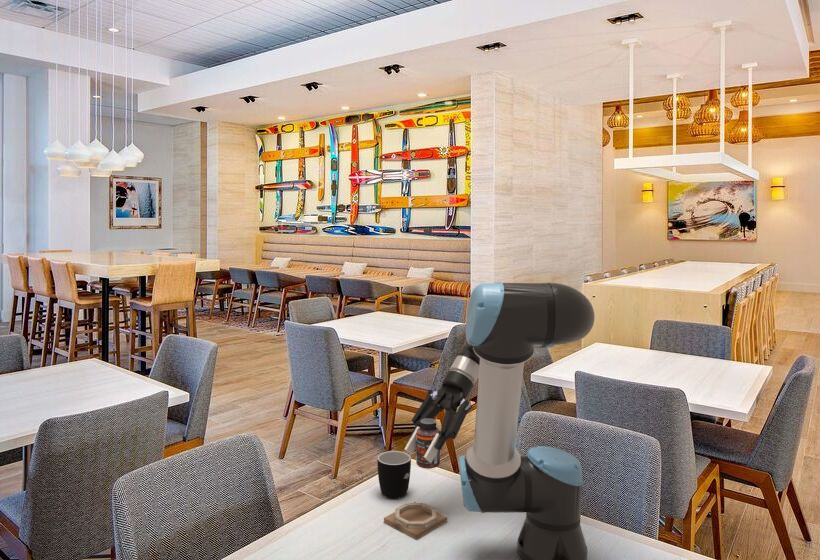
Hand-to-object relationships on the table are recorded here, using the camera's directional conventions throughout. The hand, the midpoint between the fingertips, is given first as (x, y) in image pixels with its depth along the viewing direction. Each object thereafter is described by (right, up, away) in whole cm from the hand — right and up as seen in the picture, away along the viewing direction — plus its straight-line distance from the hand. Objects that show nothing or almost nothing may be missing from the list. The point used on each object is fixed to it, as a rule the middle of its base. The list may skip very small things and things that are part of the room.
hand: (417, 455), depth 142 cm
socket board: (-1, -16, 0) cm, 16 cm away
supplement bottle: (+3, -3, +3) cm, 5 cm away
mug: (-6, -15, +16) cm, 23 cm away
